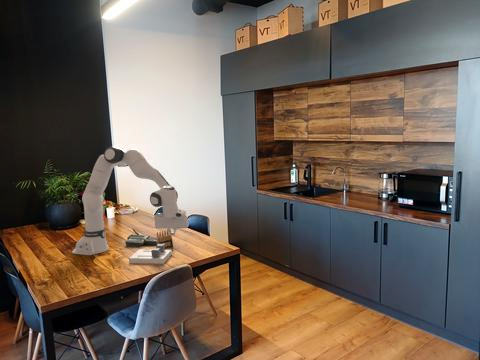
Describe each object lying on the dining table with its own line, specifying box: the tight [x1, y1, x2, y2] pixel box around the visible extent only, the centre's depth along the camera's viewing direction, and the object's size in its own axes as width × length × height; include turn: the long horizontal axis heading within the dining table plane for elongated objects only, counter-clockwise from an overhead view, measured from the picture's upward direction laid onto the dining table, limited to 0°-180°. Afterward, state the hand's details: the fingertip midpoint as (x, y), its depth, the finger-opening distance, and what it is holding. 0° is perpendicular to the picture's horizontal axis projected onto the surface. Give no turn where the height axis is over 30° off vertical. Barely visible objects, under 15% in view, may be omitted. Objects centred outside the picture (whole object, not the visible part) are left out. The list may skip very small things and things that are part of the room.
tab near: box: [151, 247, 161, 257], centre depth 219 cm, size 4×4×4 cm
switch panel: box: [128, 248, 173, 265], centre depth 224 cm, size 21×15×3 cm
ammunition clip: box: [156, 229, 174, 250], centre depth 241 cm, size 11×2×12 cm, turn 125°
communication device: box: [124, 228, 157, 247], centre depth 252 cm, size 12×24×9 cm, turn 82°
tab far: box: [155, 244, 166, 252], centre depth 227 cm, size 4×4×4 cm
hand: (172, 235), depth 225 cm, fingers closed
